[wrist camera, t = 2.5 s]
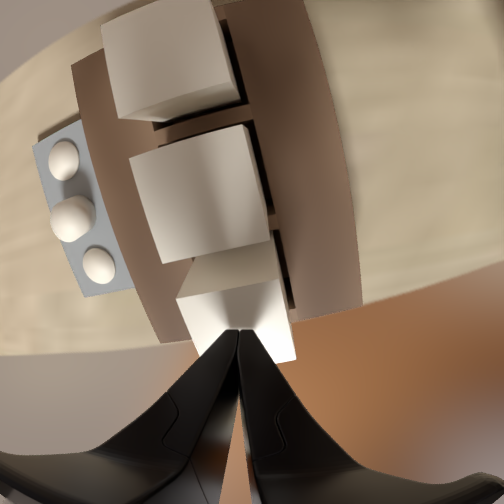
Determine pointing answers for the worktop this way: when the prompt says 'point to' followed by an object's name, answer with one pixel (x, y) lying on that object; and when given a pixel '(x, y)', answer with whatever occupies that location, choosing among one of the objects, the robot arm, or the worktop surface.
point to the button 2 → (238, 298)
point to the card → (94, 193)
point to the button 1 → (168, 61)
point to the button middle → (202, 194)
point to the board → (267, 157)
